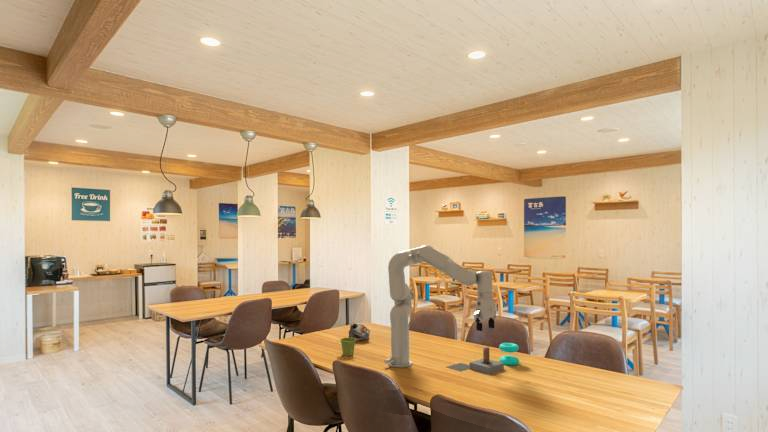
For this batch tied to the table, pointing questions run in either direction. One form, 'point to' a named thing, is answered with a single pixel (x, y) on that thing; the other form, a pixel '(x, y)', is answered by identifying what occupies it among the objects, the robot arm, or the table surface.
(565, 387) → the table surface
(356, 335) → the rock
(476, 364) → the socket block
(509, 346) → the donuts
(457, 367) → the mat
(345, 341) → the plant pot
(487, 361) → the dowel
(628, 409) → the table surface
